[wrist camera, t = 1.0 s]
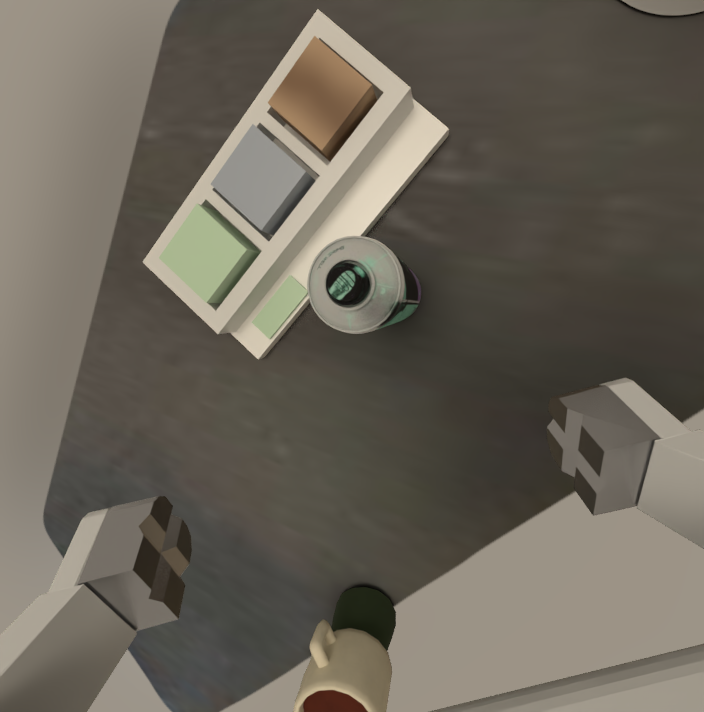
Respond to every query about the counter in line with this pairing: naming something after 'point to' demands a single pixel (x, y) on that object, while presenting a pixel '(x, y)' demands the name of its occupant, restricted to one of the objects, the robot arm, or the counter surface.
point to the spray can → (361, 285)
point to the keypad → (309, 194)
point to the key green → (209, 254)
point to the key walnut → (323, 99)
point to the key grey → (262, 181)
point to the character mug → (350, 656)
